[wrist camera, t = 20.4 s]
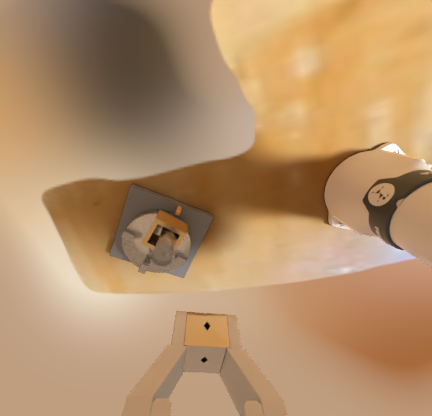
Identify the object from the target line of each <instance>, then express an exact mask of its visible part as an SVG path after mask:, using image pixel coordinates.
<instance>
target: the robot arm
mask: <svg viewBox="0 0 432 416" xmlns="http://www.w3.org/2000/svg"><path fill="white" fill-rule="evenodd" d="M431 167H432V165H430V164H429V163H426V162H425V160H423V159H421V158H417V157H413V156H408V155H405V153H404V152H403V151H402V150H401V149H400V148H399V147H398V146H397V145H396V144H394V143H385V144H383V145H381V146H379V147H378V148H376V149H374V150H371V151H365V152H361V153H357V154H355V155H353V156H351V157H349V158H347V159H346V160H344V161H343V162H342V163H341V164H339V165H338V166H337V167H336V169H335V170H334V171H333V172H332V174H331V175H330V177H329V179H328V181H327V184H326V187H325V193H324V198H325V203H326V206H327V208H328V211H329V216H328V222H329V224H330V225H332V226H334V227H339V228H344V229H349V230H353V231H355V232H356V233H358V234H360V235H362V236H363V235H367V236H373V237H379V238H380V239H381V240H383V241H384V242H386V243H387V244H390V245H391V246H393V247H395V248H397V249H400V250H405V251H406V252H408V253H410V254H411V255H413V256H414V257H416V258H417V259H419V260H420V261H422V262H423V263H425V264H427V265H428V266H430V267H431V268H432V169H430V168H431ZM339 222H340V223H339ZM183 372H206V373H220V376H221V378H222V380H223V382H224V384H225V386H226V388H227V390H228V393H229V395H230V397H231V398H232V400H233V403H234V405H235V407H236V409H237V411H238V413H239V415H240V416H288V415H287V411H286V408H285V404H284V401H283V399H282V398H281V397H280V395H279V394H278V393H277V391H276V390H275V389H274V387H273V386H272V385H271V383H270V382H269V380H268V379H267V378H266V376H265V375H264V374H263V372H262V371H261V370H260V368H259V367H258V366H257V364H256V363H255V362H254V360H253V359H252V358H251V356H250V355H249V354H248V352H247V351H246V350H245V349H242V345H241V339H240V333H239V328H238V321H237V317H236V315H225V314H210V313H207V314H205V313H195V312H185V311H177V312H176V316H175V322H174V329H173V335H172V342H171V345H168V346H167V347H166V348H165V349H164V351H163V352H162V353H161V354H160V356H159V357H158V358H157V359H156V361H155V362H154V363H153V364H152V366H151V367H150V368H149V369H148V371H147V372H146V373H145V374H144V376H143V377H142V378H141V379H140V381H139V382H138V383H137V384H136V386H135V387H134V388H133V389H132V391H131V392H130V393H129V394H128V396H127V398H126V402H125V405H124V409H123V412H122V416H170V411H171V402H170V401H169V399H168V398H169V396H170V395H171V393H172V391H173V389H174V388H175V386H176V384H177V383H178V381H179V379H180V377H181V376H182V374H183Z"/></svg>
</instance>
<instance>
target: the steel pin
mask: <svg viewBox="0 0 432 416" xmlns="http://www.w3.org/2000/svg"><path fill="white" fill-rule="evenodd" d="M177 237H178V234H177V233H175V232H173V231H171V230H169V229H167V228H165V227H163V228H162V231H161V233H160V236H159V238H158V241H157V243H156V246H155V248H154V251H153V253H152V256H151V259H152V261H153V263H154V264H156V265H158V266H167V265H169V264H170V263H171V261H172V258H173V254H174V250H175V245H176V241H177Z"/></svg>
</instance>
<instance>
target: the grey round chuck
mask: <svg viewBox="0 0 432 416" xmlns="http://www.w3.org/2000/svg"><path fill="white" fill-rule="evenodd" d="M163 227H165V228H167V229H169V230H171V231H173V232H175V233H177V234H178V237H177V241H176V245H175V250H174V254H173V258H172V261H171V263H170V264H169V265H167V266H158V265H156V264H154V263H153V261H152V259H151V256H152V253H153V251H154V248H155V246H156V243H157V241H158V238H159V236H160V233H161V231H162V228H163ZM121 237H122V247H123V250H124V253H125V255H126V256H127V258H128V259H129V260H130V261H131V262H132V263H133V264H134V265H136V266H137V267H139V269H138V272H141V273H143V274H144V273H145V272H146V271H150V272H158V273H160V272H168V271H171V270H174V269H176V268H178V267H179V266H181V265H183V266H184V264H185V263H186V262H187V258H188V255H189V251H190V244H191V234H190V230H189V228H188V224H187V223H185V222H184V221H183V220H182V219H181V218H180V217H179V216H177V215H176V214H174V213H172V212H169V211H165V210H158V209H157V210H148V211H145V212H143V213H140V214H139V215H137V216H136V217H135V218H134V219H133V220H132V221H131V223H130V224H129V225H128V227H127V228H126V229H125V231H124V232H123V234H122V236H121Z"/></svg>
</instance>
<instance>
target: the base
mask: <svg viewBox="0 0 432 416" xmlns="http://www.w3.org/2000/svg"><path fill="white" fill-rule="evenodd" d="M157 209H158V210H165V211H169V212H172V213H174V214H176V215H177V216H179V217H180V218H181V219H182V220H183V221H184V222H185V223H187V224H188V228H189V230H190V234H191V244H190V251H189V255H188V258H187V262H186V263H185V264H184V266H183V265H181V266H179V267H178V268H176V269H174V270H171V271H168V272H165V273H169V274H172V275H175V276H178V277H182V278H184V277H185V275H186V273H187V271H188V269H189V267H190V265H191V262H192V260H193V258H194V256H195V254H196V252H197V250H198V248H199V246H200V244H201V242H202V240H203V238H204V236H205V234H206V232H207V230H208V228H209V226H210V224H211V222H212V220H213V214H210V213H207V212H205V211H202V210H200V209H197V208H194V207H192V206H189V205H187V204H184V203H182V202H179V201H176V200H174V199H171V198H169V197H166V196H163V195H161V194H158V193H156V192H153V191H150V190H148V189H145V188H143V187H140V186H138V185H135V184H132V185H131V186H130V189H129V192H128V195H127V199H126V202H125V205H124V209H123V212H122V215H121V219H120V222H119V226H118V229H117V232H116V236H115V239H114V242H113V246H112V249H111V252H110V256H113V257H116V258H120V259H123V260H126V261H129V262H131V261H130V260H129V259H128V258H127V256H126V255H125V253H124V250H123V247H122V237H121V236H122V234H123V232H124V231H125V229H126V228H127V227H128V225H129V224H130V223H131V221H132V220H133V219H134V218H135V217H136V216H137V215H139V214H140V213H143V212H145V211H148V210H157Z"/></svg>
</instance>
